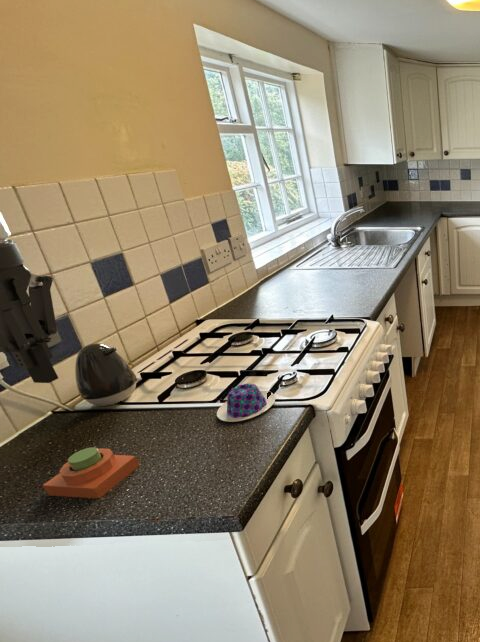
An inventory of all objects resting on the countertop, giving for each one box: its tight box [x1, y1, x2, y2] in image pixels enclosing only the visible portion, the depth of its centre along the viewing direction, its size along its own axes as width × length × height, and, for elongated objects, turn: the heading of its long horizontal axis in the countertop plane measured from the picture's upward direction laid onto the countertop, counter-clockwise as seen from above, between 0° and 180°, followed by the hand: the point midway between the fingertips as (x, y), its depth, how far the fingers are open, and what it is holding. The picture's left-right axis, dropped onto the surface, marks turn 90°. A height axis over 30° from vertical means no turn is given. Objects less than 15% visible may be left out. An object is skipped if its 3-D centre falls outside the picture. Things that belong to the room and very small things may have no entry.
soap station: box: [42, 447, 140, 499], centre depth 77 cm, size 10×8×4 cm
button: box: [67, 446, 102, 471], centre depth 75 cm, size 4×4×2 cm
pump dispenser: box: [74, 342, 138, 407], centre depth 98 cm, size 10×10×15 cm
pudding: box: [216, 383, 276, 423], centre depth 97 cm, size 12×12×5 cm
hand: (46, 380), depth 69 cm, fingers closed
